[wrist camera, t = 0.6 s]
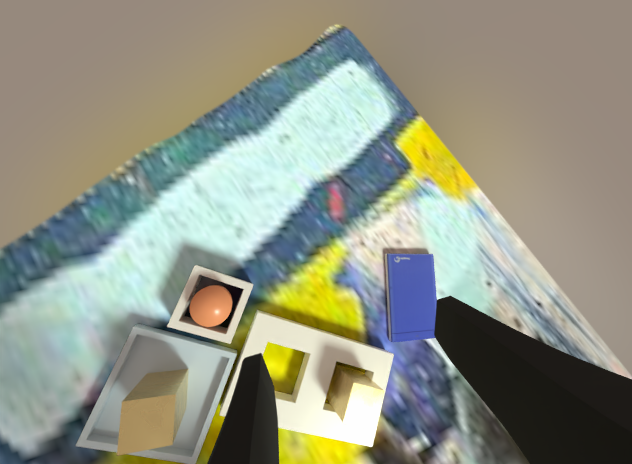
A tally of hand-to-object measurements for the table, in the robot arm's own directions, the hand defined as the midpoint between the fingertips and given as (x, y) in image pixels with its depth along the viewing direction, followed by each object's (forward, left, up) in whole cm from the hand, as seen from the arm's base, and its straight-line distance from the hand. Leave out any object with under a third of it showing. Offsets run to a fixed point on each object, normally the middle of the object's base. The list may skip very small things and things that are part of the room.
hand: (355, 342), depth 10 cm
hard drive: (+6, -20, -24) cm, 32 cm away
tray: (-13, +7, -23) cm, 28 cm away
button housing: (-3, +6, -23) cm, 24 cm away
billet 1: (-13, +7, -23) cm, 27 cm away
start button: (-3, +6, -22) cm, 23 cm away
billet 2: (-8, -13, -23) cm, 28 cm away
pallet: (-8, -8, -23) cm, 26 cm away
